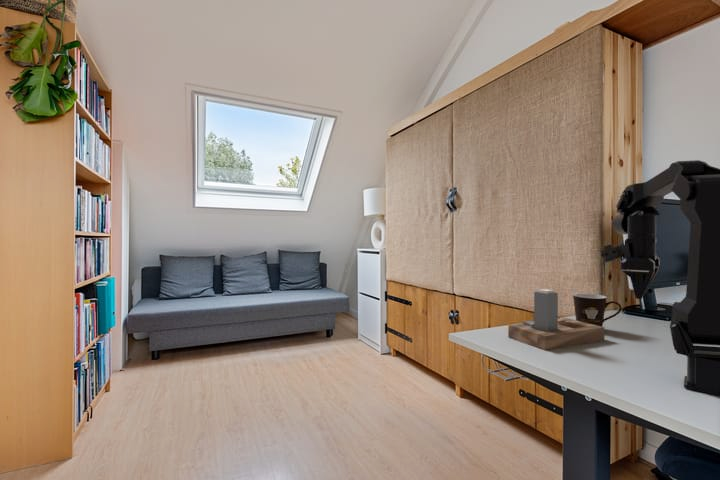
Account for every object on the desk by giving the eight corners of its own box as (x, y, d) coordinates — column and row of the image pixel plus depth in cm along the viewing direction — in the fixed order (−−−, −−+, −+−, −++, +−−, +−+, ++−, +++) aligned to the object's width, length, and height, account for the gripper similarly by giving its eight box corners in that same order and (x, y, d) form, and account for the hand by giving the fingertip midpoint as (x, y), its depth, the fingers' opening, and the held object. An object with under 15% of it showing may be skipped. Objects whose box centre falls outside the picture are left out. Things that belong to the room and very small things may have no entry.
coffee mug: (568, 328, 111) (568, 295, 110) (578, 323, 116) (579, 292, 116) (613, 336, 102) (613, 301, 102) (622, 331, 107) (622, 297, 107)
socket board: (604, 340, 98) (604, 325, 98) (544, 350, 90) (544, 333, 90) (564, 329, 110) (564, 315, 110) (508, 337, 101) (508, 322, 101)
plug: (557, 341, 96) (557, 290, 96) (547, 343, 94) (547, 291, 94) (543, 337, 100) (544, 288, 100) (534, 339, 98) (534, 289, 98)
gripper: (609, 234, 104) (609, 288, 104) (596, 234, 90) (595, 297, 90) (660, 234, 96) (659, 293, 97) (653, 234, 83) (653, 303, 83)
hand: (640, 296), depth 92 cm, fingers open, 9 cm apart
